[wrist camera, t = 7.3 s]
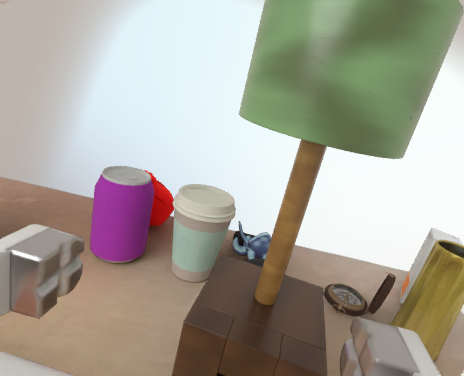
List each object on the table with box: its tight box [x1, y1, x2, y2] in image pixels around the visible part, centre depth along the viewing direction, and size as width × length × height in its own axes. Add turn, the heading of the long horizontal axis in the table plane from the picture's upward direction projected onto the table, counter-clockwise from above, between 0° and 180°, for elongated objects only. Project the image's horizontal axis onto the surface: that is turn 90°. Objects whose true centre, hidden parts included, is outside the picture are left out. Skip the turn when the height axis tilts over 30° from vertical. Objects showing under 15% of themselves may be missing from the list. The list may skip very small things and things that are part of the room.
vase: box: [390, 240, 464, 360], centre depth 40 cm, size 6×6×14 cm
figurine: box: [232, 221, 271, 260], centre depth 52 cm, size 9×12×8 cm
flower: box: [145, 170, 174, 226], centre depth 54 cm, size 8×8×8 cm
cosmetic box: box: [400, 228, 462, 304], centre depth 50 cm, size 6×4×12 cm
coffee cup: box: [171, 184, 235, 282], centre depth 44 cm, size 8×8×12 cm
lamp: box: [172, 0, 464, 376], centre depth 24 cm, size 11×11×33 cm
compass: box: [325, 272, 396, 315], centre depth 45 cm, size 8×8×7 cm
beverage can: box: [90, 166, 154, 263], centre depth 44 cm, size 8×8×12 cm
